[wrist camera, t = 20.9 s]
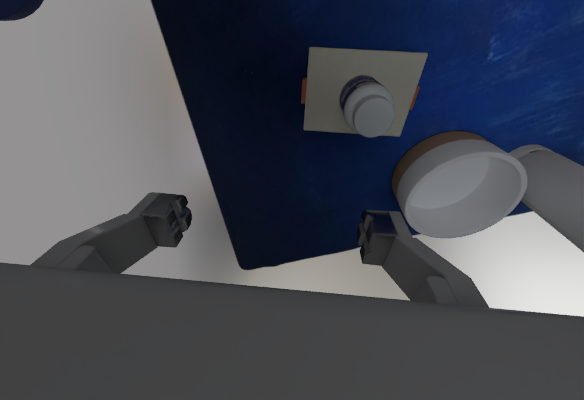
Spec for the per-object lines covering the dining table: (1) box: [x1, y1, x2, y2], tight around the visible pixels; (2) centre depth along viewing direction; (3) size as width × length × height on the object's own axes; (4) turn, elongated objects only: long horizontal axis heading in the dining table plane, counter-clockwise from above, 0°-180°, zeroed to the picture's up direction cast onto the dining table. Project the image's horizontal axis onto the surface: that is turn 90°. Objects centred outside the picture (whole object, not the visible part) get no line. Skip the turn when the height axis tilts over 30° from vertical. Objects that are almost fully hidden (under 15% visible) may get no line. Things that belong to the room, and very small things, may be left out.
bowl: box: [392, 131, 527, 238], centre depth 39 cm, size 17×17×8 cm
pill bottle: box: [339, 75, 395, 137], centre depth 27 cm, size 5×5×10 cm
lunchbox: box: [301, 47, 428, 136], centre depth 33 cm, size 16×10×6 cm
